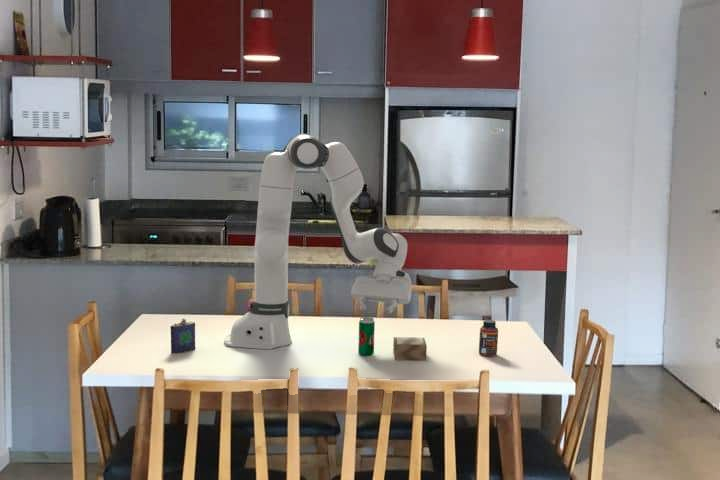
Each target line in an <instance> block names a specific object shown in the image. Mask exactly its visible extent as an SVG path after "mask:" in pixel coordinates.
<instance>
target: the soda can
mask: <svg viewBox="0 0 720 480" xmlns="http://www.w3.org/2000/svg"><path fill="white" fill-rule="evenodd" d="M375 324H376V322H375V319H374V318H373V317H371V316H365V317H364V316H363V317H360V319H359V321H358V344H357V345H358V349H357V351H358V352H357V353H358V355H360V356H361V357H371V356H373V355H374V353H375V329H376V328H375V326H376V325H375Z"/></svg>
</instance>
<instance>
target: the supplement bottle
mask: <svg viewBox="0 0 720 480" xmlns="http://www.w3.org/2000/svg"><path fill="white" fill-rule="evenodd" d="M496 325H497V323H496V321H495V320H493V319H484V320H483V321H482V326H481V327H480V328H479V341H478V342H479V343H478V344H479V345H478V354H479V355H480V356H482V357H495V356H497V354H498V344H499V343H498V338H499V329H498V328H497V326H496Z"/></svg>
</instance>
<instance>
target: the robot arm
mask: <svg viewBox="0 0 720 480" xmlns="http://www.w3.org/2000/svg"><path fill="white" fill-rule="evenodd" d="M318 168H320V169H321V170H322V171H323V173H324V175H325V177H326V179H327V182H328V183H329V185H330V190H331V196H330V199H329V200H330V207H331V210H332V214H333V217H334V219H335V222H336V226H337V229H338V232H339V234H340V238H341V242H342V247H343V248H342V249H343V253H344V256H345V257H346V259H348V260H349V261H350V262H351V263H353V264H356V265H358V264H362V263H366V262H367V261H369V260H373V259H375V260H376V261H377V264H376V266H375V269H374V271H373V275H371V274H361V275H358V276H356V278H355V280H354V283H353V285H352V288H351V291H350V293H351V296H352V298H353V299H354V300H357V301H358V300H359V302H360V305H359V309H360V311H366V309H367V305H366V303H365V302H366V301H369V302H380V303H388V304H389V303H390V304H391V305H388V306H386V313H387V314H392V313H393V312H394V309H396V308H397V307H398V305H408V304H409V303H410V302H411V299H412V293H413V292H412V285H413V283H412V282H413V281H412V279H411V276H410V274H409V273H408V272H406V271H403V270H402V268H403V266H404V265H405V262H406V259H407V253H408V241H407V239H406V238H405V237H404V236H403V235H402V234H400V233H397V232H396V233H395V232H394V233H392V232H390V231H389V230H388V229H386V228H385V227H377V228H372V229H369V230H367V231H363V232H358V231H357V229H356V226H355V223H354V221H353V220H354V219H353V217H352V214H351V204H352V203H353V202H354V201H355V200H356V199H357V198H358V197H359V195H360V194H361V193H362V191H363V188H364V184H365V182H364V181H365V180H364V177H363V174H362V171H361V170H360V167H359V166H358V164H357V162H356V160H355V158H354V157H353V155H352V153H351V152H350V151H349V149H348V147H347V146H346V145H345V144H344V143H342V142H339V141H334V142H330V143H327V144H324V143H323V142H321V141H320V140H319V139H317V137H315V136H314V135H312V134H308V133H300V134H296V135H294V136H293V137H291V139H290V140H289V141H288V143H286V146H285V147H284V148H283V150H282V152H280V151H279V152H278V151H276V152H272V153H269V154H268V155H266V157H265V159H264V162H263V164H262V168H261V174H260V178H259V181H260V182H259V189H258V201H257V202H258V204H257V213H256V214H257V215H256V216H257V217H256V228H255V240H254V246H253V247H254V257H253V259H254V291H253V292H254V294H253V295H254V299H249V300H248V302H247V305H248V306H247V309H248V312H246V313H245V314H243V315H242V316H241V317H240V318H238V319H237V320H235V322H234V323H233V325H232V328H231V331H230V334H229V335H226V336H225V338H224V341H223V343H224V345H225V346H226V347H230V348H231V347H233V348H245V349H246V348H248V349H249V348H250V349H261V350H272V349H274V348H278V347H285V346H288V345H290V344H292V343H293V340H292V338H291V334H290V333H291V332H290V328H289V327H290V326H289V316H290V305H289V304H290V302H289V300H288V291H289V290H288V285H289V283H288V281H289V280H288V279H289V278H288V277H289V233H290V224H291V218H292V217H291V215H292V208H293V207H292V205H293V194H294V181H295V175H296V173H297V172H298V170H299V169H303V170H311V169H318Z"/></svg>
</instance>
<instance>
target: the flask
mask: <svg viewBox="0 0 720 480" xmlns="http://www.w3.org/2000/svg"><path fill="white" fill-rule="evenodd" d="M194 350H196V322H195V321H188V322H187V319H185V318H181V321H180V322H178V323H174V324H172V325H171V326H170V354H173V355H177V354H181V353H186V352H191V351H194Z"/></svg>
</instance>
